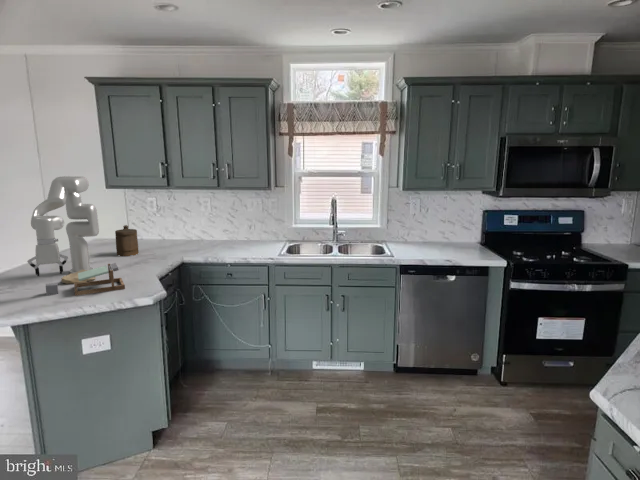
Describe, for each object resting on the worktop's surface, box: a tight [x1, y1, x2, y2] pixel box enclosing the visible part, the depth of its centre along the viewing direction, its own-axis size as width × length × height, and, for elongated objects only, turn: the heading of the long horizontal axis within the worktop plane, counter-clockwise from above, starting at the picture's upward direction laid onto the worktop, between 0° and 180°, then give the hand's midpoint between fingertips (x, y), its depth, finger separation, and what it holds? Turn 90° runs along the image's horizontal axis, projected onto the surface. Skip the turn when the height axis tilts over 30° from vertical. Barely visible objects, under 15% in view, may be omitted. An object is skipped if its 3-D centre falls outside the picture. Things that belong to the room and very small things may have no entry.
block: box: [45, 282, 59, 296], centre depth 207 cm, size 5×5×5 cm
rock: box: [60, 269, 97, 285], centre depth 231 cm, size 18×15×4 cm
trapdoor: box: [78, 262, 119, 281], centre depth 215 cm, size 14×19×2 cm
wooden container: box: [114, 224, 140, 257], centre depth 296 cm, size 15×15×22 cm
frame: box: [73, 263, 126, 297], centre depth 216 cm, size 17×23×11 cm
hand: (49, 274), depth 205 cm, fingers open, 9 cm apart
